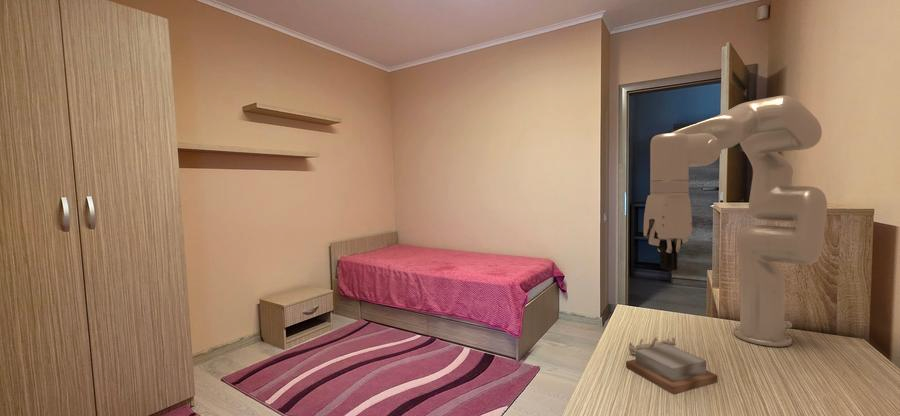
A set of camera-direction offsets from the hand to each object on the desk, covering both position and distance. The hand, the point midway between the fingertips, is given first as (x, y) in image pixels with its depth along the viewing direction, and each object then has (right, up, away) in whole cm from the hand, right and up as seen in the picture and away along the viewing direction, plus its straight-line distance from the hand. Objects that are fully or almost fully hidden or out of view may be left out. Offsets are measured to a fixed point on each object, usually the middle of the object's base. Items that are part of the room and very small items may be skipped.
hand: (668, 269), depth 87 cm
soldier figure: (+9, -23, +13) cm, 28 cm away
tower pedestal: (+1, -25, +1) cm, 25 cm away
